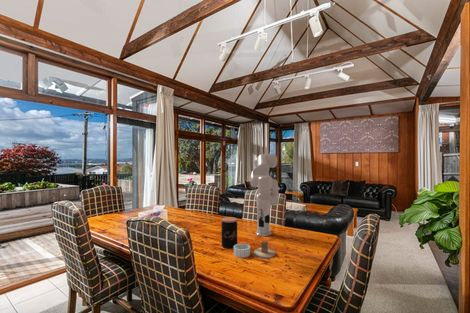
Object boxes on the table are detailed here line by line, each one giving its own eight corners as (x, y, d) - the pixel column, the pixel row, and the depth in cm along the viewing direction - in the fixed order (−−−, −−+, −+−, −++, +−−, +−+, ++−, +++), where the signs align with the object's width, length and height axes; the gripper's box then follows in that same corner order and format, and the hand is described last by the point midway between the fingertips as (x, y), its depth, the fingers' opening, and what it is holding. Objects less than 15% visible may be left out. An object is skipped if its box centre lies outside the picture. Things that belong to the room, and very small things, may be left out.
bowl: (238, 250, 145) (238, 242, 145) (252, 253, 140) (252, 245, 140) (230, 256, 136) (230, 247, 136) (245, 259, 132) (245, 251, 132)
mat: (261, 248, 147) (261, 247, 147) (276, 251, 142) (276, 250, 142) (252, 257, 135) (252, 256, 135) (268, 260, 130) (268, 259, 130)
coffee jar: (223, 249, 146) (223, 221, 147) (220, 243, 157) (219, 217, 157) (239, 247, 149) (239, 220, 149) (235, 242, 159) (234, 216, 160)
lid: (258, 247, 147) (258, 237, 148) (278, 251, 141) (278, 240, 141) (250, 255, 136) (250, 243, 136) (271, 259, 130) (271, 247, 130)
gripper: (263, 194, 148) (263, 220, 148) (252, 198, 133) (252, 227, 133) (274, 195, 145) (274, 222, 144) (264, 199, 130) (265, 229, 129)
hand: (264, 224), depth 139 cm, fingers open, 9 cm apart
